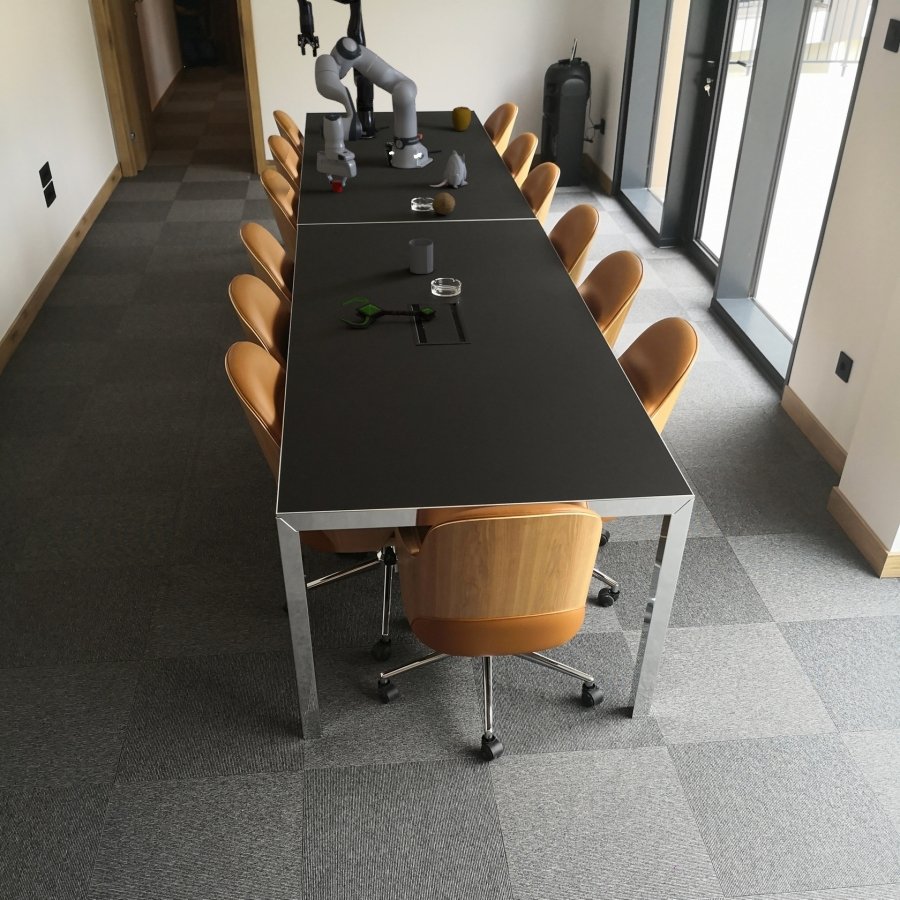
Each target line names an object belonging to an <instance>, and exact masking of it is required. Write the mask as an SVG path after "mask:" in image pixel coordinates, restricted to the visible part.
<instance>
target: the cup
mask: <svg viewBox="0 0 900 900" xmlns="http://www.w3.org/2000/svg"><path fill="white" fill-rule="evenodd" d="M408 253H409V272H411V273H412V274H416V275H426V274H430V273H432V272H434V241H433V240H431V239H428V238H422V237H421V238H420V237H419V238H414V239H411V240H410V241H409V242H408Z"/></svg>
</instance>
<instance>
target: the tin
mask: <svg viewBox="0 0 900 900" xmlns="http://www.w3.org/2000/svg"><path fill="white" fill-rule="evenodd" d="M340 182H342V179H334V180H333V181H332V184H331V186H332V192H333V193H342V192H343V186H340Z"/></svg>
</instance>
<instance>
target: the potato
mask: <svg viewBox="0 0 900 900" xmlns="http://www.w3.org/2000/svg"><path fill="white" fill-rule="evenodd" d="M455 206H456V200H455V198H454V196H452V195H451V194H449V193H448V192H439V193H437V194H436V195H435V197H434V198H433V200H432V201H431V207H432V209H433V210H434V212H436V213H437V214H439V215H441V216H442V215H449V214H450V213H452V212H453V211H454V209H455Z"/></svg>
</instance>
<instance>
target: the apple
mask: <svg viewBox="0 0 900 900" xmlns="http://www.w3.org/2000/svg"><path fill="white" fill-rule="evenodd" d="M451 121H452V125H453V128H454V129H455V131H457V132H463V131H466V130H467V129H468V128H469V126H470V124H471V121H472V111H471V108H469V107H467V106H462V105H461V106H457V107H454V108H452V111H451Z"/></svg>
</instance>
